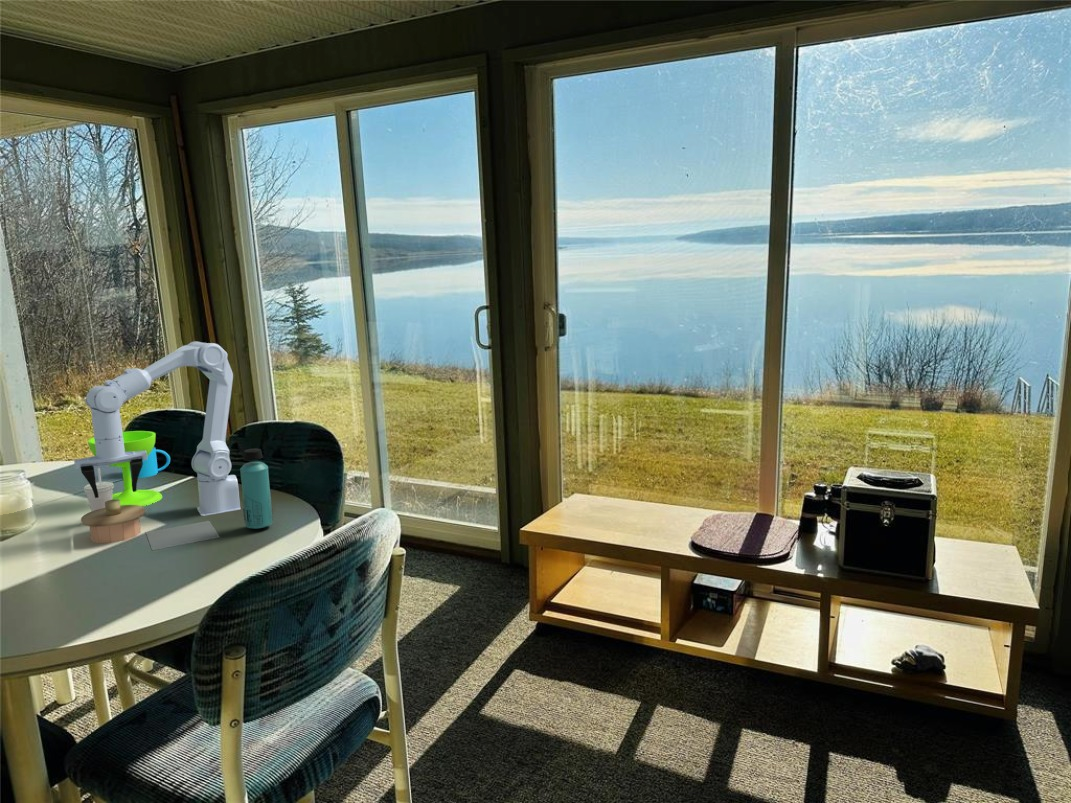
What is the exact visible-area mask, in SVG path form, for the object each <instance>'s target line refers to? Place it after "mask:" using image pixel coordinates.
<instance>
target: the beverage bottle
mask: <svg viewBox="0 0 1071 803" xmlns="http://www.w3.org/2000/svg"><path fill="white" fill-rule="evenodd" d="M262 458H263V452H262V450H261V448H248V449H245V450H243V460H244V461H249V462H247V463H244V464H243V465H242V466H241V467H240V469H239V471H240V480H241V481H240V482H241V493H242V506H243V508H242V510H243V520H244V525H245V527H246V528H248V529H262V528H266V527H267V528H268V526H271V525H272V524H273V521H274V518H273V517H274V516H273V515H274V514H273V512H274V511H273V503H272V495H271V489H270V488H271V487H270V479H269V478H270V477H269V475H270V474H269V466H268V465H267V464H266V463H265V462H262V461H258V460H261V459H262ZM256 460H257V461H256Z"/></svg>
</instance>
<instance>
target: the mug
mask: <svg viewBox="0 0 1071 803" xmlns="http://www.w3.org/2000/svg"><path fill="white" fill-rule="evenodd" d="M157 453H160V454H163V455H164V456H165V457H166V462H165V464H164V465H163V466H162V467H159V468H158V462H157V461H158V460H157V459H158V458H157ZM147 459H148V460H142V462H143V466H142V468H141V471H140V473H139V476H138V479H142V478H143V479H144V478H151V477H154V476H156V475H158V474H159V472H160V471H163V470H165V469H166V468H167V467H168V466H169V464H171V456H170V455H169V454H168V453H167V452H166V451H165V450H162V449H156V447H155V446H154V447H153V450H152V451H151V452H150V454H149V455H148V456H147ZM130 472H131V469H130ZM157 473H158V474H157ZM131 479H132V477H131Z"/></svg>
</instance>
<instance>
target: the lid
mask: <svg viewBox="0 0 1071 803" xmlns="http://www.w3.org/2000/svg"><path fill="white" fill-rule="evenodd" d="M145 514H146V508H145V506H143V507H142V506H138V505H120V500H117V499H115V500H109V501H106V502H105V508H102V509H98V510H95V511H92V512H91V511H90V512H87V513H84V514H83V515H82V516H81V518H80V522H81V524H82V525H84V526H86V527H90V526H94V527H99V526H111V525H117V524H122V523H126V522H130V521H133V520H136V519H138V518H139V519H141V517H143V516H145Z"/></svg>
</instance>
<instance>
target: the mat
mask: <svg viewBox="0 0 1071 803" xmlns="http://www.w3.org/2000/svg"><path fill="white" fill-rule="evenodd" d="M145 534H146V537H147V540H148V543H149V545H150V548H151V551H158V550H159V551H160V550H163V549H169V548H172V547H173V548H174V547H178V546H179V547H180V546H183V545H188V544H195V543H199V542H203V541H210V540H214V539H220V538H221V537H220V535H219V533H218V532H217V530H216V528H215V527H214V526H213V524H212V523H211V521H210V520H206V521H205V520H204V521H200V522H195V523H189V524H184V525H178V526H173V527H172V526H171V527H167V528H162V529H156V530H151V531H145Z"/></svg>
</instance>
